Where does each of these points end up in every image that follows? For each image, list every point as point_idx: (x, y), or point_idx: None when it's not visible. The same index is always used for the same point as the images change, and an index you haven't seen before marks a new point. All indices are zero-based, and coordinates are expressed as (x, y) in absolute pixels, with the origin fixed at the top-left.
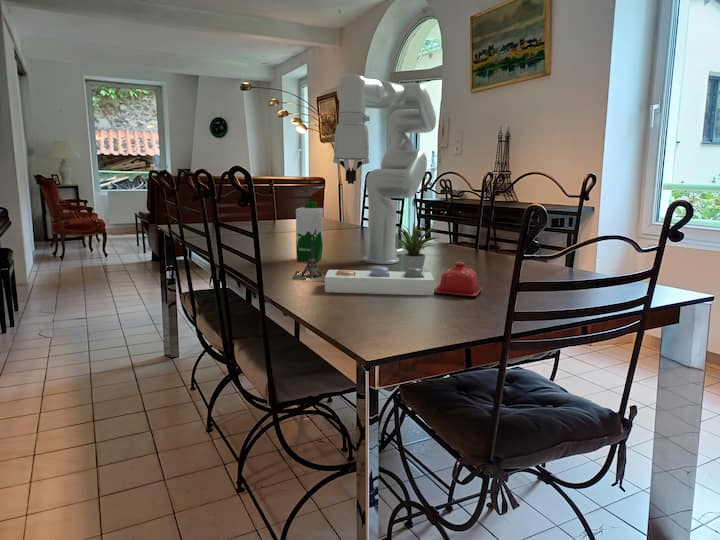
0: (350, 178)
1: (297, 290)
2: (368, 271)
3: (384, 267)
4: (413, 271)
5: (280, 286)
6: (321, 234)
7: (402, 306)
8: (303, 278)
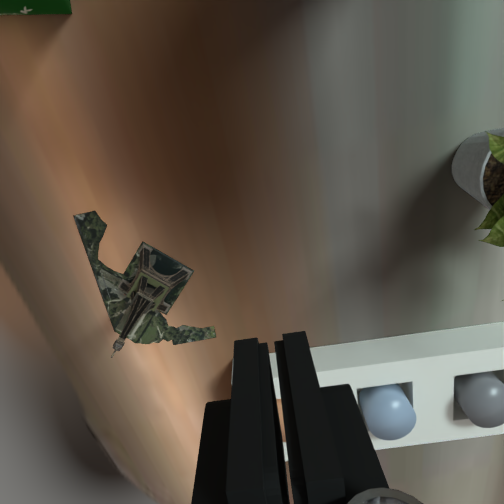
0: (283, 462)
1: (180, 434)
2: (351, 377)
3: (405, 410)
4: (487, 426)
5: (124, 411)
6: None
7: (426, 493)
8: (143, 317)
